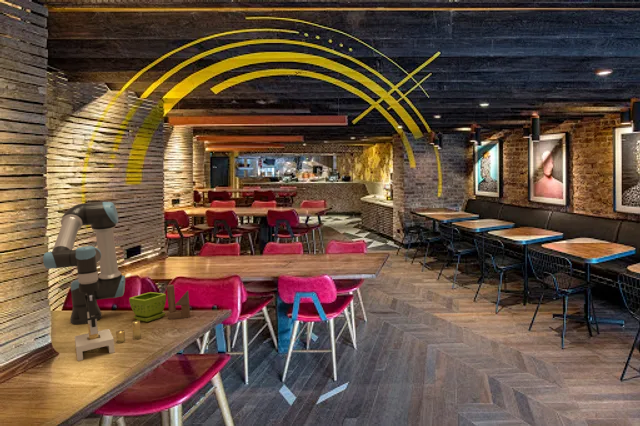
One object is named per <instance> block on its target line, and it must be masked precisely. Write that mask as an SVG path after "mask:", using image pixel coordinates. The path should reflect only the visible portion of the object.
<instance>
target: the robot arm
mask: <svg viewBox="0 0 640 426" xmlns="http://www.w3.org/2000/svg"><path fill="white" fill-rule="evenodd" d="M118 223H119V213H118V210H117V208H116V205H115V203H113V202H111V201H99V202H97V201H95V202H83V203H78V204H76V205H74V206H72V207H71V208H68V209H67V211H66V212H65V213H64V214H63V216H62V217H61V220H60V224H61V226H60V229H59V231H58V234H57V236H56V237H57V238H56V240H55V243H54V246H53V248H52V251H47V252H44V254H43V256H42V262H43V265H44V268H45V269H48V270H49V269H55V270H56V269H61V268H62V269H63V268H71V267H73V268H74V267H76V270H77V275H76V276H75V277H76V279H74V280H73V281H71V283H70V292H71V304H72V310H71V314H70V318H69V321H70V324H71V323H72V324H71V325H84V324H85V325H86V324H87V325H88V324H90V333H91V335H93V334H98V331H99V328H98V329H97V327H98V321H99V320H101V319H102V317H103V313H102V311H101V309H100V307H99V305H98V301H97V300H105V299H106V300H107V299H116V298H119V297H120V298H121V297H123V296H124V293H125V288H126V287H125V286H126V276H125V275H123V274H122V271H120V270H119V268H118V267H119V266H118V259H117V249H116V241H115V234H114V229H115V228H116V227H117V224H118ZM82 226H83V227H84V226H91V229H92V230H93V231H94V232H95V237H96V238H95V239H96V245H97V246H96V247H95V246H93V245H86V246H85V245H84V246H80V247H77V248H76V249H73V248H74V245H75V242H76V239H77V235H78V232H79V230H80V229H81V228H82ZM97 263H99V268H100V273H99V274H98V266H97V265H98V264H97Z"/></svg>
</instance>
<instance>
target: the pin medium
mask: <svg viewBox="0 0 640 426" xmlns="http://www.w3.org/2000/svg"><path fill="white" fill-rule="evenodd" d="M131 330H132V339H133V340H134V339H137V340H140V339H142V328H141V320H137V319H135V320H132V321H131Z"/></svg>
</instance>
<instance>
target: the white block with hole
mask: <svg viewBox="0 0 640 426" xmlns="http://www.w3.org/2000/svg"><path fill="white" fill-rule="evenodd" d="M98 337H99V338H97V339H92V340H89V332H88V333H83V334H79V335H74V343H75V351H76V352H75V353H76V358H77V359H76V360H77V362H79V361H83V360H84V353H83V352H86V351H90V350H91V349H95V348H103V347H106V348H107V350H108V352H109V354H114V353H115V352H116V351H115V340H114V336H113V334H112V332H111V330H110V328H108V329H101V330H98Z"/></svg>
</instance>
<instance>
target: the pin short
mask: <svg viewBox="0 0 640 426" xmlns="http://www.w3.org/2000/svg"><path fill="white" fill-rule="evenodd" d="M115 337H116V343H117V344H123V342H124V343H125V342H126V334H125V329H120V330H116V331H115Z"/></svg>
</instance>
